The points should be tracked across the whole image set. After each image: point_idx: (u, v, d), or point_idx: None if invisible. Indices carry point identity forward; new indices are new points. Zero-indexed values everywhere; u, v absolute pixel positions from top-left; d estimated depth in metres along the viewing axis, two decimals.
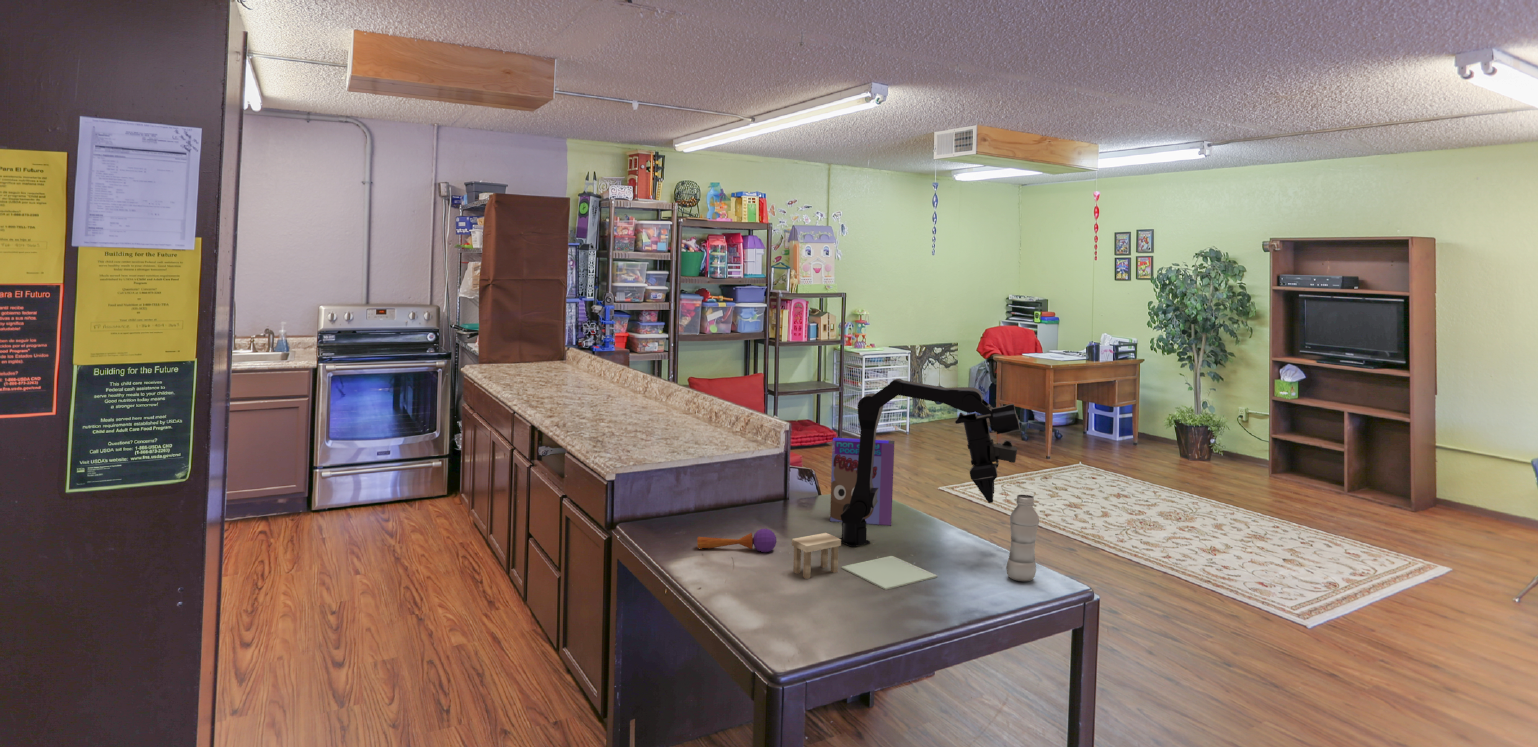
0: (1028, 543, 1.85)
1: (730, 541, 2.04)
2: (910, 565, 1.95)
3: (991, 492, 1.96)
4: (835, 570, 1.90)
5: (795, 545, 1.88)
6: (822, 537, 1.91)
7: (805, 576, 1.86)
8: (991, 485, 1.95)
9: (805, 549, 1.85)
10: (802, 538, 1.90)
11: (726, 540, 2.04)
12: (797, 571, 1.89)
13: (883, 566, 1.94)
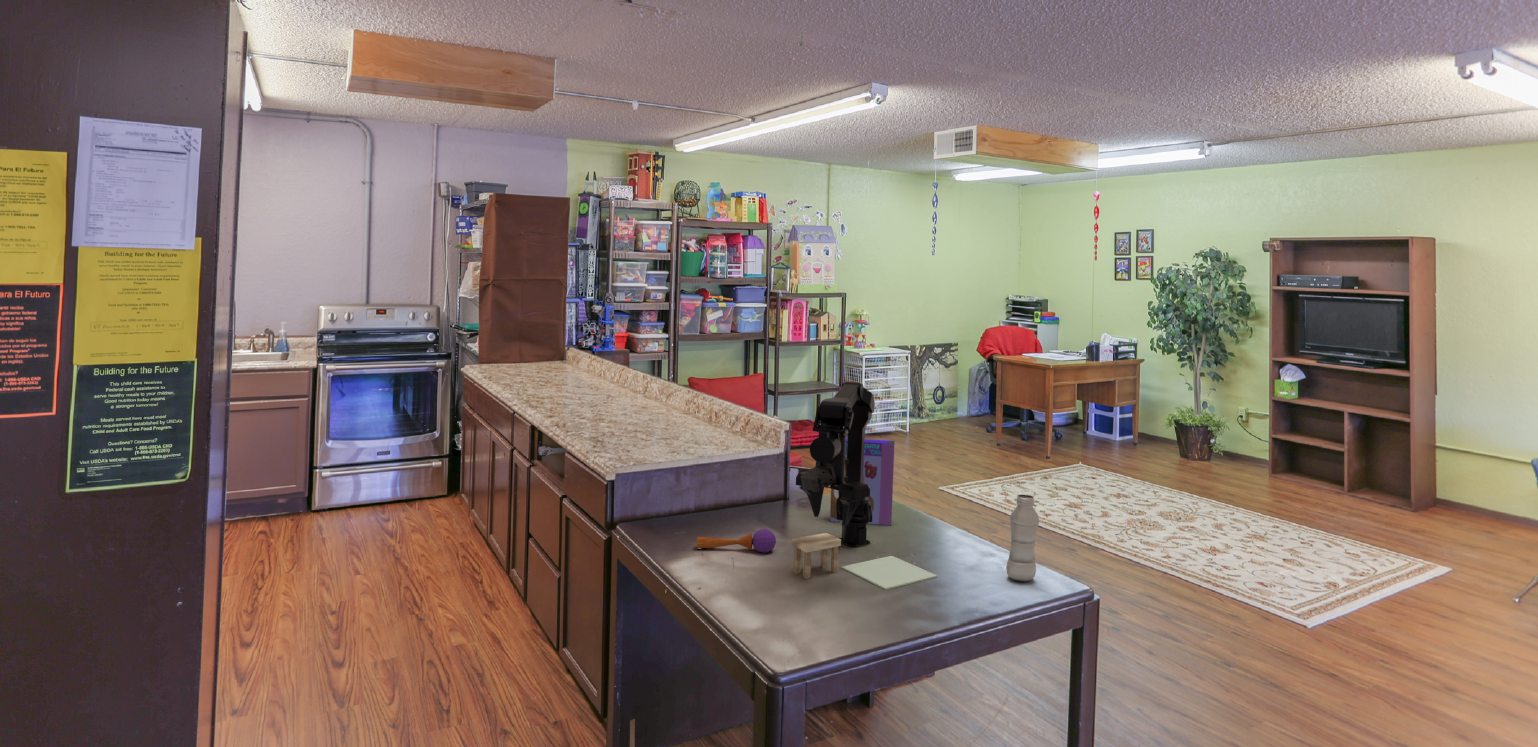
0: (1028, 543, 1.85)
1: (730, 541, 2.04)
2: (910, 565, 1.95)
3: None
4: (835, 570, 1.90)
5: (795, 545, 1.88)
6: (822, 537, 1.91)
7: (805, 576, 1.86)
8: None
9: (805, 549, 1.85)
10: (802, 538, 1.90)
11: (726, 540, 2.04)
12: (797, 571, 1.89)
13: (883, 566, 1.94)
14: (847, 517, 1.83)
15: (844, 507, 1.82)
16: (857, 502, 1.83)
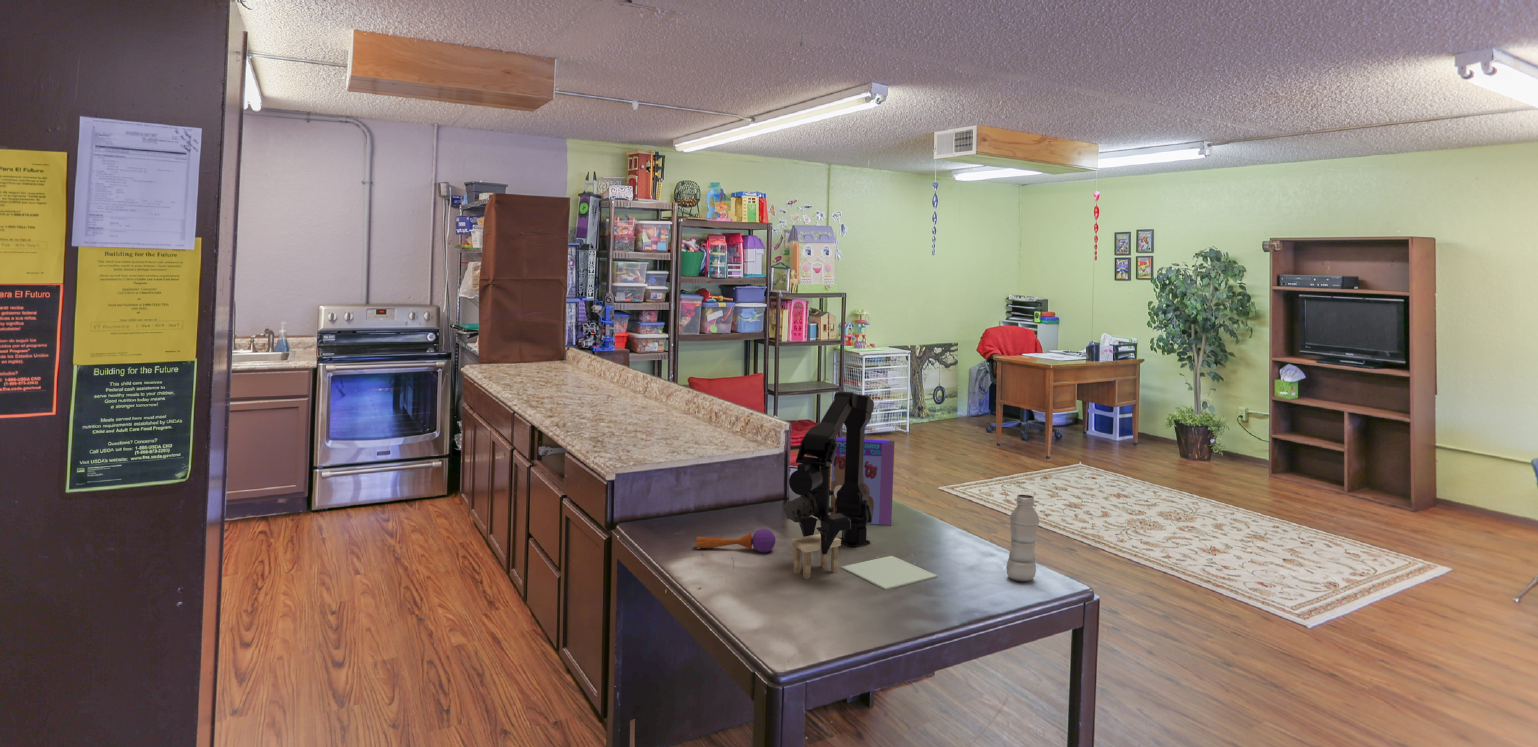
0: (1028, 543, 1.85)
1: (729, 541, 2.04)
2: (910, 565, 1.95)
3: None
4: (835, 570, 1.90)
5: (795, 545, 1.88)
6: None
7: (805, 576, 1.86)
8: None
9: (805, 549, 1.85)
10: (802, 538, 1.90)
11: (725, 539, 2.04)
12: (797, 571, 1.89)
13: (883, 566, 1.94)
14: (825, 546, 1.86)
15: (821, 536, 1.85)
16: (835, 532, 1.86)
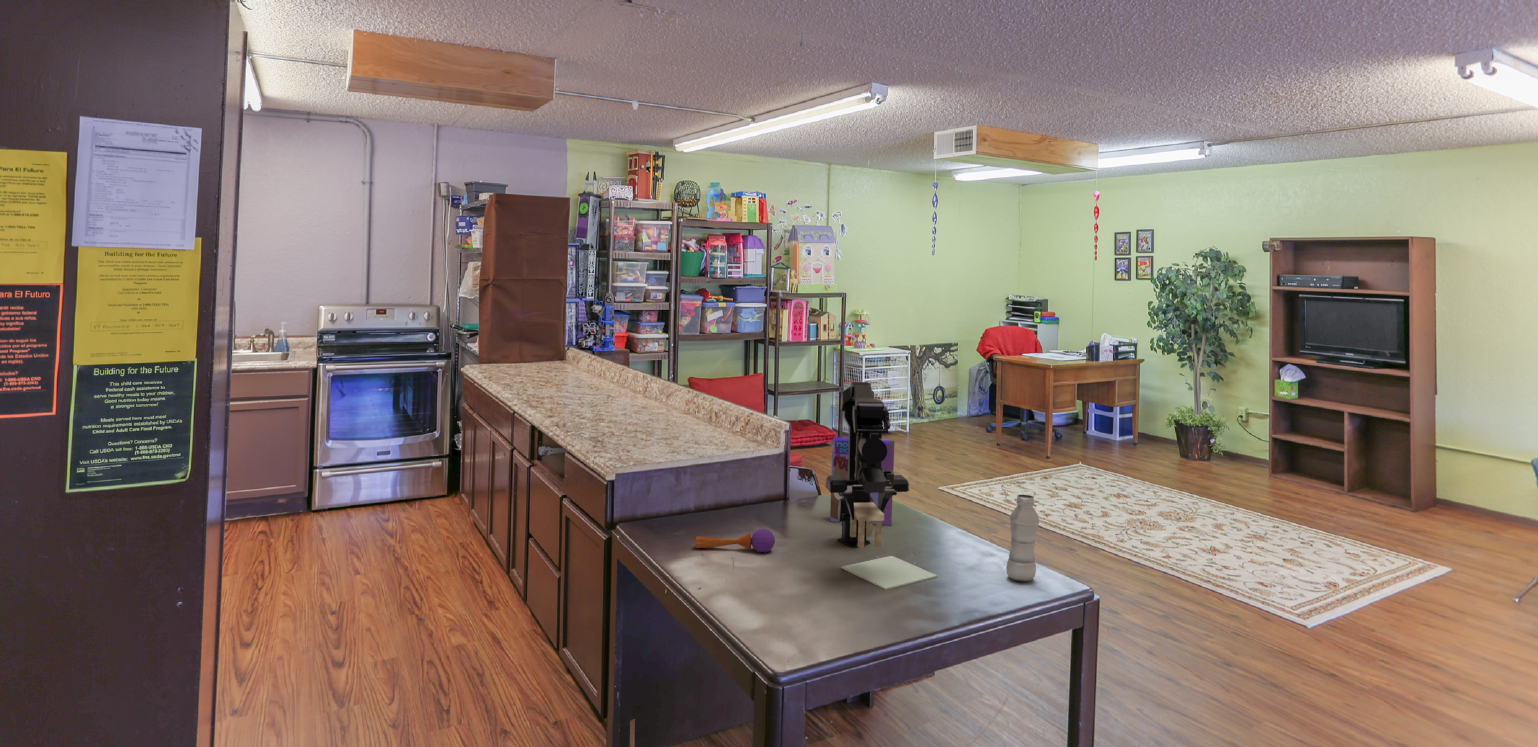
0: (1028, 543, 1.85)
1: (728, 541, 2.04)
2: (910, 565, 1.95)
3: (849, 509, 1.88)
4: None
5: (865, 519, 1.84)
6: (863, 505, 1.91)
7: (879, 545, 1.85)
8: (847, 502, 1.87)
9: (882, 518, 1.84)
10: (859, 511, 1.86)
11: (725, 539, 2.04)
12: None
13: (883, 566, 1.94)
14: None
15: (884, 501, 1.88)
16: None
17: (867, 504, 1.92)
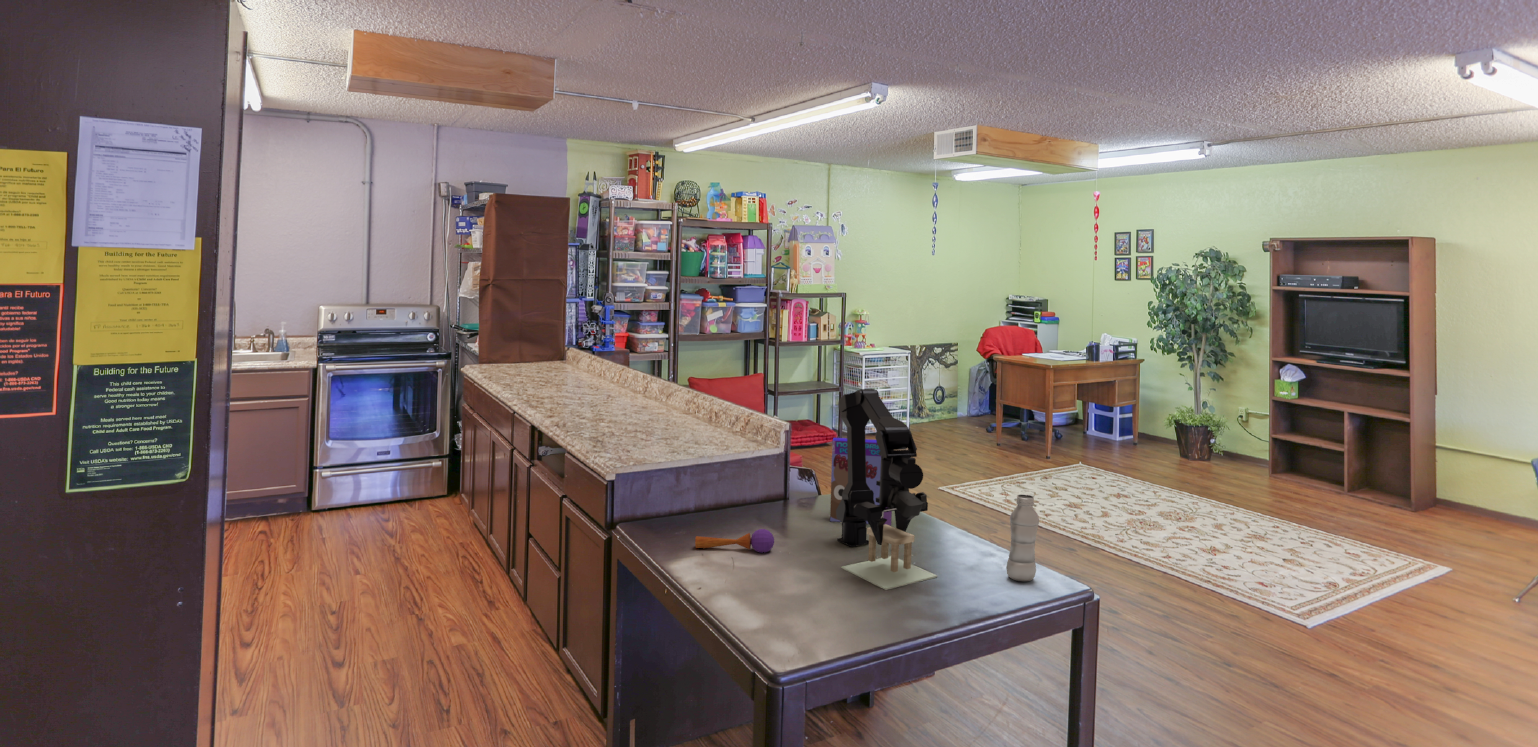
0: (1028, 543, 1.85)
1: (728, 541, 2.04)
2: None
3: (878, 534, 1.87)
4: None
5: (900, 543, 1.85)
6: (884, 529, 1.91)
7: (909, 566, 1.88)
8: (878, 528, 1.86)
9: (913, 539, 1.87)
10: (890, 535, 1.87)
11: (724, 539, 2.04)
12: None
13: (883, 566, 1.94)
14: None
15: (906, 523, 1.91)
16: None
17: (884, 527, 1.93)
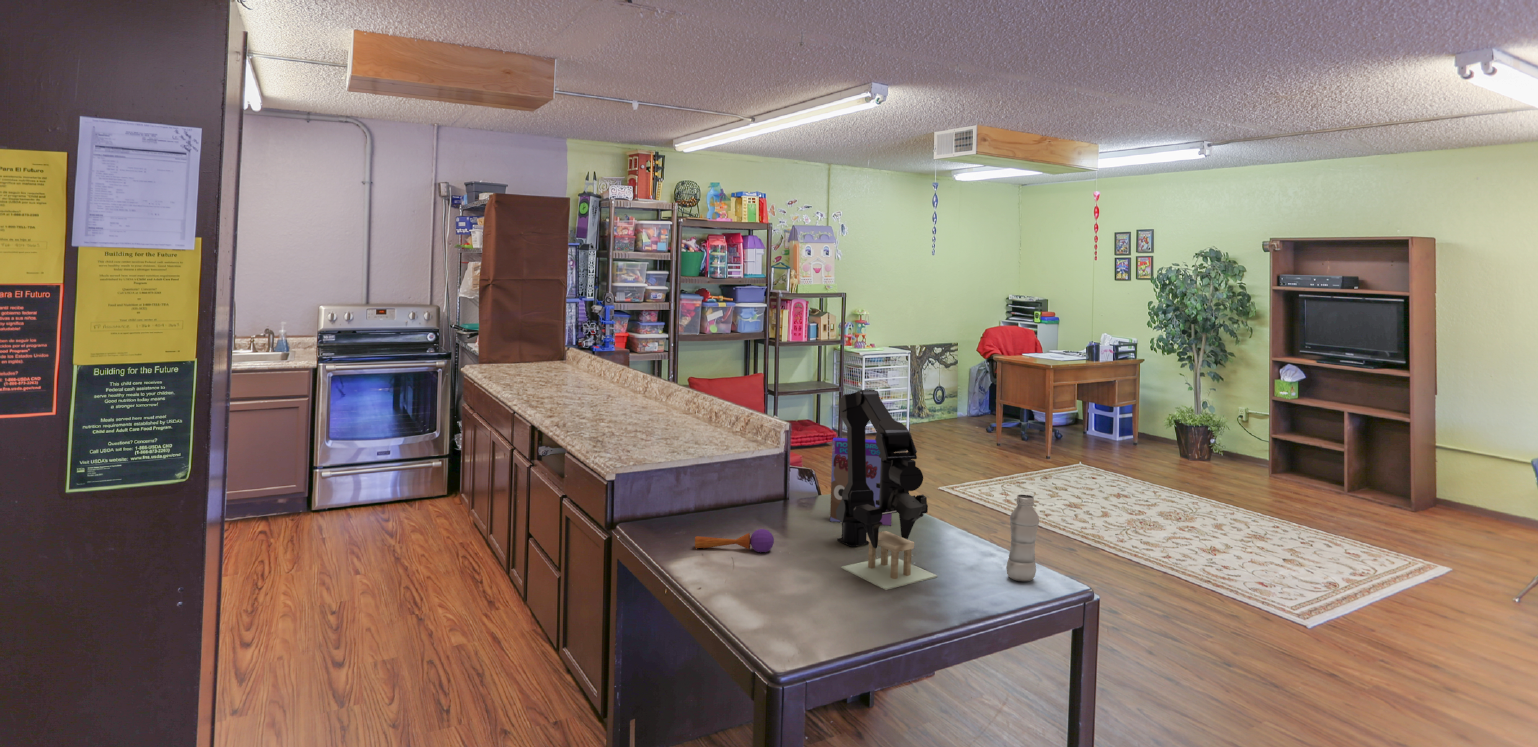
0: (1028, 543, 1.85)
1: (728, 541, 2.04)
2: None
3: (874, 538, 1.86)
4: None
5: (900, 549, 1.85)
6: (883, 536, 1.91)
7: (909, 573, 1.88)
8: (873, 531, 1.85)
9: (912, 546, 1.87)
10: (890, 542, 1.87)
11: (724, 539, 2.04)
12: None
13: (883, 566, 1.94)
14: None
15: (911, 524, 1.91)
16: None
17: (884, 533, 1.93)
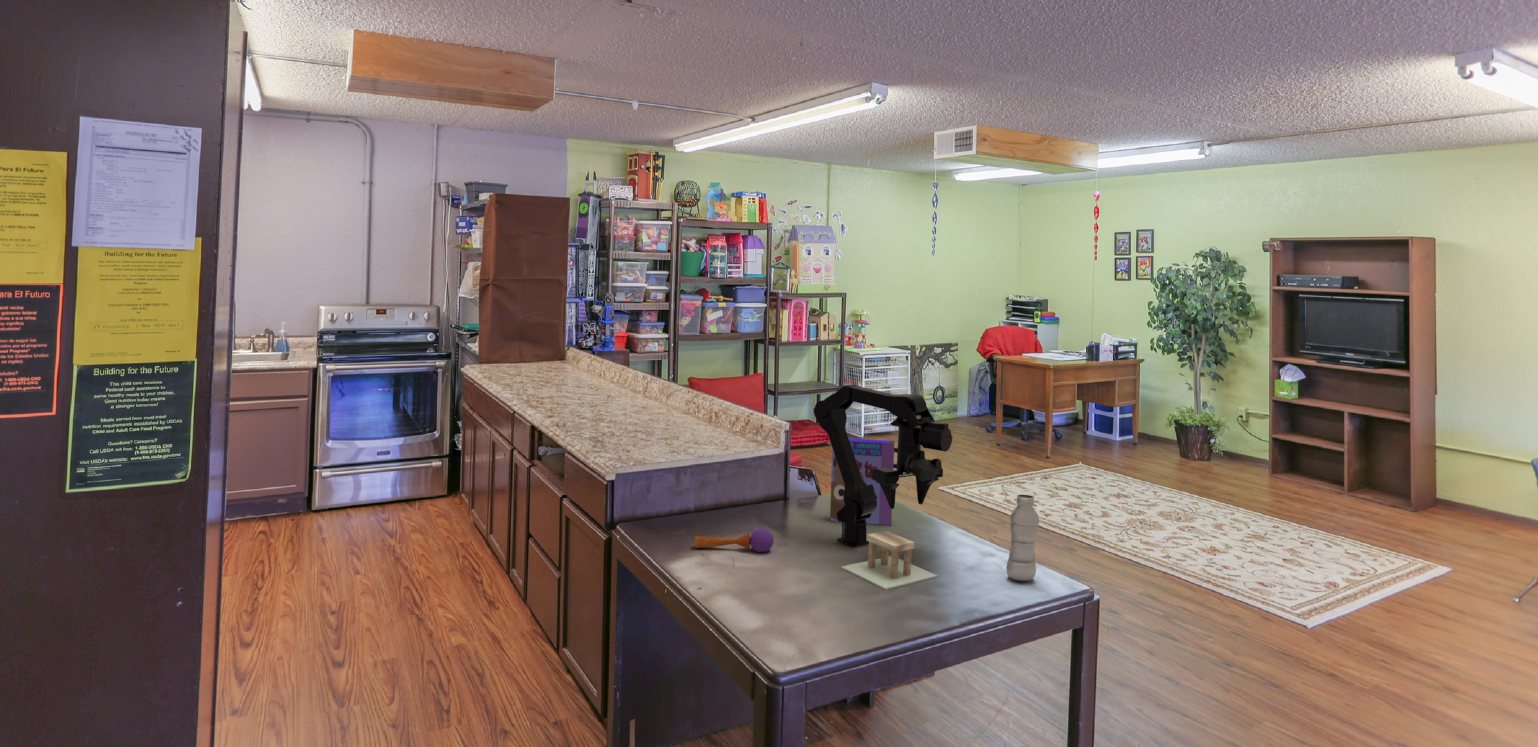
0: (1028, 543, 1.85)
1: (727, 541, 2.04)
2: None
3: (891, 499, 1.98)
4: None
5: (900, 549, 1.85)
6: (883, 536, 1.91)
7: (909, 573, 1.88)
8: (890, 492, 1.97)
9: (912, 546, 1.87)
10: (890, 542, 1.87)
11: (724, 539, 2.05)
12: None
13: (883, 566, 1.94)
14: None
15: (927, 487, 2.03)
16: None
17: (884, 533, 1.93)
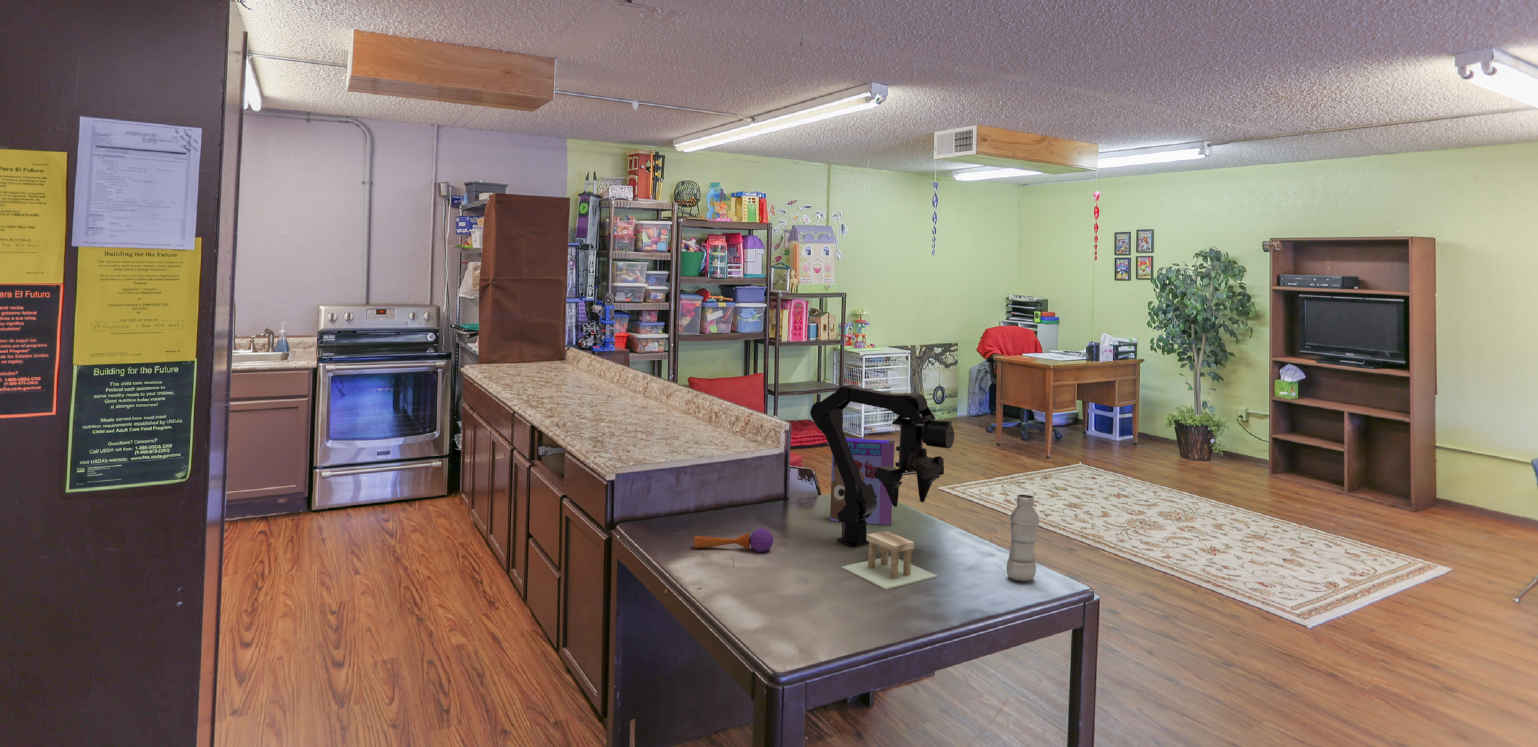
0: (1028, 543, 1.85)
1: (727, 540, 2.05)
2: None
3: (894, 497, 1.99)
4: None
5: (900, 549, 1.85)
6: (883, 536, 1.91)
7: (909, 573, 1.88)
8: (893, 490, 1.98)
9: (912, 546, 1.87)
10: (890, 542, 1.87)
11: (723, 539, 2.05)
12: None
13: (883, 566, 1.94)
14: None
15: (928, 485, 2.04)
16: None
17: (884, 533, 1.93)
